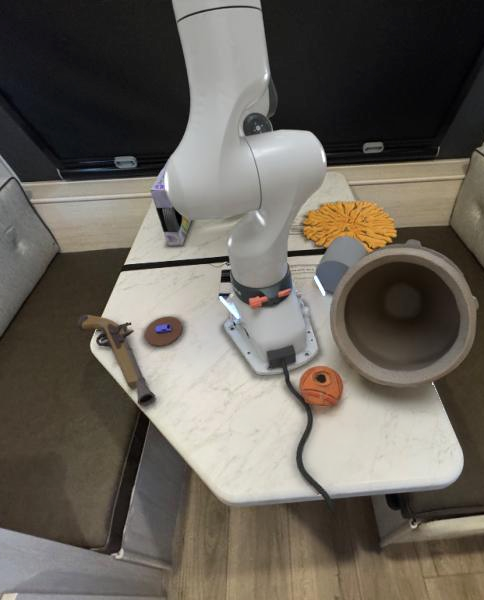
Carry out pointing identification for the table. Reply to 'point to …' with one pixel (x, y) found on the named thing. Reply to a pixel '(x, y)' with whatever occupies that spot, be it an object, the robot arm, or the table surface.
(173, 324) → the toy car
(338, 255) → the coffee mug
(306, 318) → the robot arm
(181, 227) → the cake pan box
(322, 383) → the pot
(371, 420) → the table surface
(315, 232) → the coral
